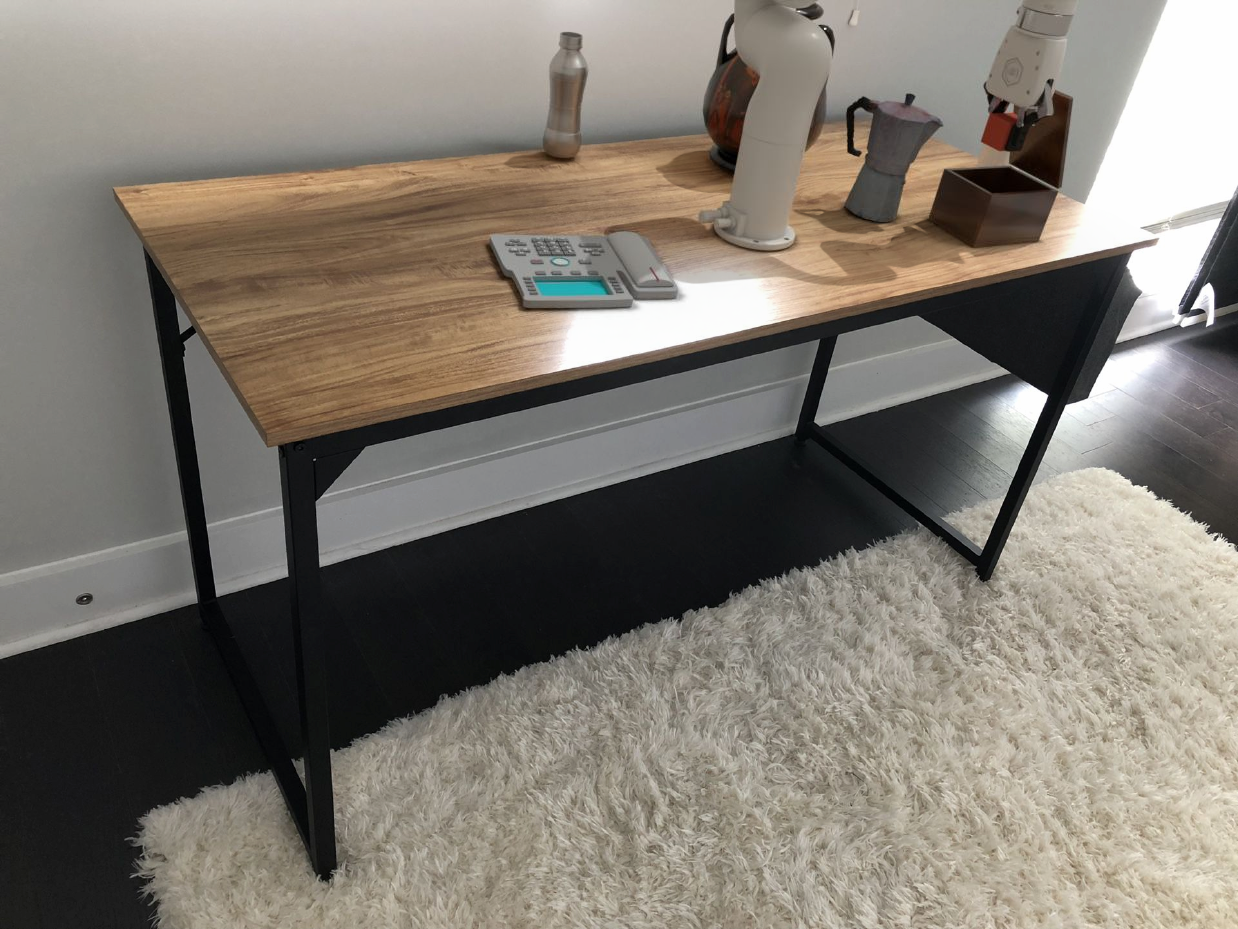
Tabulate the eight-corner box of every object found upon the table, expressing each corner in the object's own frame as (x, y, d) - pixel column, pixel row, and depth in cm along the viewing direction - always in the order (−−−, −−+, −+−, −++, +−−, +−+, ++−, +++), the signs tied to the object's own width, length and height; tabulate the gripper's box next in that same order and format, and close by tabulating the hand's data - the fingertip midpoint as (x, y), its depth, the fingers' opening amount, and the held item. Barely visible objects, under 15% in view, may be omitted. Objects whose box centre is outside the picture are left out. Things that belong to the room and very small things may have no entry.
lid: (1069, 99, 148) (1073, 97, 148) (1016, 76, 156) (1020, 74, 157) (1057, 189, 159) (1061, 187, 159) (1008, 163, 167) (1012, 161, 167)
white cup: (1019, 199, 181) (1039, 146, 175) (985, 200, 178) (1005, 146, 172) (992, 183, 186) (1010, 131, 180) (959, 184, 184) (977, 131, 178)
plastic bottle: (537, 149, 171) (546, 28, 160) (574, 149, 173) (585, 30, 162) (546, 162, 167) (556, 38, 155) (584, 162, 169) (596, 40, 157)
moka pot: (914, 231, 161) (953, 108, 149) (822, 213, 163) (853, 90, 151) (912, 210, 169) (948, 92, 157) (824, 194, 170) (853, 76, 159)
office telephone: (646, 226, 143) (692, 289, 128) (644, 243, 144) (688, 307, 129) (489, 225, 136) (518, 291, 121) (488, 242, 138) (516, 310, 122)
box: (973, 247, 159) (991, 195, 153) (927, 218, 167) (944, 168, 162) (1038, 241, 164) (1058, 191, 159) (991, 214, 173) (1009, 165, 167)
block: (999, 151, 153) (1009, 122, 150) (980, 141, 156) (989, 113, 153) (1021, 150, 155) (1032, 121, 152) (1002, 140, 158) (1012, 112, 155)
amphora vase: (810, 158, 185) (848, -1, 169) (811, 198, 168) (854, 25, 152) (698, 139, 186) (725, -21, 170) (688, 177, 169) (717, 3, 153)
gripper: (985, 8, 149) (948, 128, 160) (1066, 38, 137) (1020, 165, 148) (1022, 9, 152) (983, 126, 163) (1104, 38, 140) (1056, 163, 151)
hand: (1001, 143), depth 155 cm, fingers closed on block, 4 cm apart
